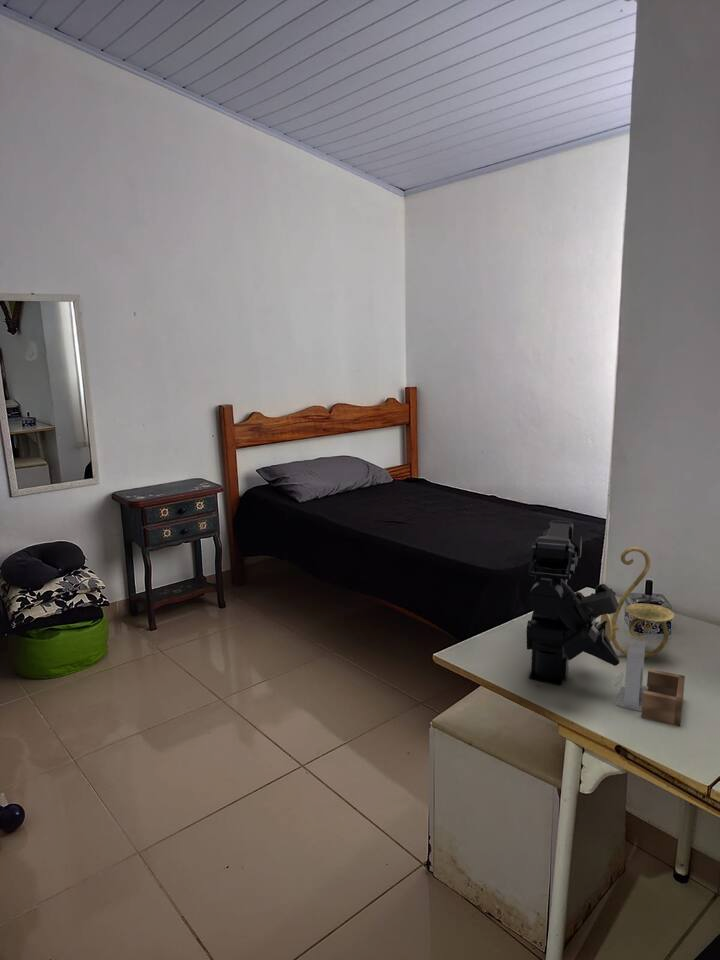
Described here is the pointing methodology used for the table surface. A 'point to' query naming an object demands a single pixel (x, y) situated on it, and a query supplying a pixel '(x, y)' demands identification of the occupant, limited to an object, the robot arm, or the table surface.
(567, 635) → the robot arm
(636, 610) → the wall sconce
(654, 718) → the walnut u-shaped bracket
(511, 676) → the table surface
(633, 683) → the angle bracket
